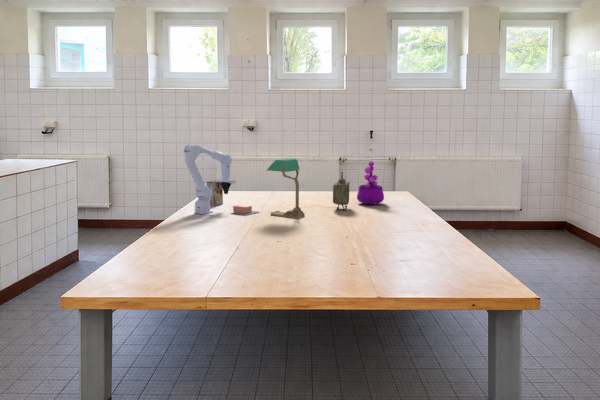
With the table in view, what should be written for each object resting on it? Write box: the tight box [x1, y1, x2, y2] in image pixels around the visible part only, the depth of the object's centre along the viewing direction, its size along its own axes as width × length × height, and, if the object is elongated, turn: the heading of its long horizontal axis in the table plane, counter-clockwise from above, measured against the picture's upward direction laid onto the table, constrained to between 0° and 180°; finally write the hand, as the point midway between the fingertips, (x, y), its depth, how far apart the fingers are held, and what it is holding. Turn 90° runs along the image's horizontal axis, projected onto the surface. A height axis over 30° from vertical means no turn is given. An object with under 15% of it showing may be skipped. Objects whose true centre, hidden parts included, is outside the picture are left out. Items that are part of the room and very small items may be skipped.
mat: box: [230, 210, 260, 217], centre depth 358 cm, size 14×12×1 cm
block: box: [232, 204, 253, 214], centre depth 359 cm, size 6×4×10 cm
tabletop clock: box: [332, 170, 350, 211], centre depth 372 cm, size 14×9×25 cm, turn 168°
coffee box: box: [206, 180, 224, 207], centre depth 389 cm, size 9×6×16 cm
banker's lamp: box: [266, 157, 306, 219], centre depth 347 cm, size 16×21×35 cm
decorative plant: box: [356, 160, 385, 205], centre depth 393 cm, size 19×18×30 cm
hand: (226, 193), depth 369 cm, fingers closed
